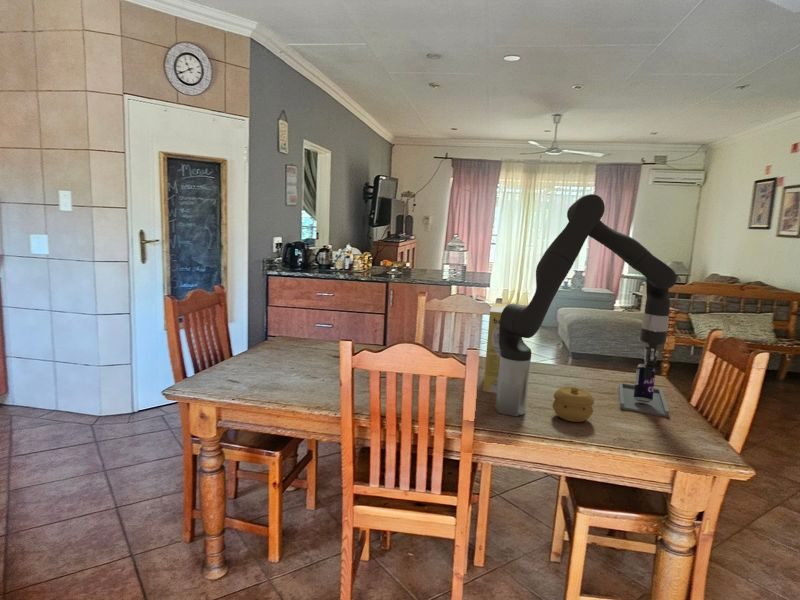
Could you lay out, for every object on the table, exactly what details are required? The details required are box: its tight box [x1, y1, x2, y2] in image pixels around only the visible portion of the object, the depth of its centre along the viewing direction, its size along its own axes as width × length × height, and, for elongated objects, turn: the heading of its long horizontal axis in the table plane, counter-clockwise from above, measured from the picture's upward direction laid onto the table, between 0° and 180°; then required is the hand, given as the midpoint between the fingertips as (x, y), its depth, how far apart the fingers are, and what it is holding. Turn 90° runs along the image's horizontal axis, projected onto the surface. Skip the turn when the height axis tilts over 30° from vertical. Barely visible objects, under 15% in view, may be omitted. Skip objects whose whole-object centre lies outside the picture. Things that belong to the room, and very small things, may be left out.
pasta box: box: [482, 302, 509, 394], centre depth 179 cm, size 18×10×28 cm, turn 167°
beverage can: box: [634, 363, 656, 403], centre depth 169 cm, size 6×6×12 cm
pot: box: [552, 386, 595, 423], centre depth 153 cm, size 12×12×10 cm
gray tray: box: [618, 382, 670, 418], centre depth 173 cm, size 24×14×2 cm, turn 158°
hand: (647, 379), depth 165 cm, fingers closed
